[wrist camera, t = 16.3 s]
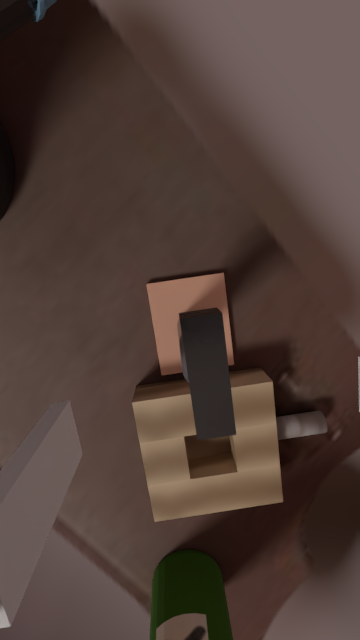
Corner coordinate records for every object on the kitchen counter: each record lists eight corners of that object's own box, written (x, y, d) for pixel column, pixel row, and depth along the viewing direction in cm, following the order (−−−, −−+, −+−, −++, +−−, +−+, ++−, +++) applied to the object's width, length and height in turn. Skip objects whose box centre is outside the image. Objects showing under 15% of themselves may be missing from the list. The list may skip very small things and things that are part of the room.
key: (182, 361, 32) (192, 441, 18) (172, 292, 31) (174, 320, 17) (209, 357, 32) (241, 434, 18) (200, 288, 31) (227, 312, 17)
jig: (136, 385, 33) (132, 402, 30) (313, 359, 34) (332, 372, 30) (156, 493, 36) (154, 521, 32) (319, 468, 36) (337, 493, 32)
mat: (146, 283, 31) (146, 284, 31) (222, 272, 31) (223, 272, 31) (161, 373, 33) (161, 375, 33) (233, 362, 33) (234, 364, 33)
